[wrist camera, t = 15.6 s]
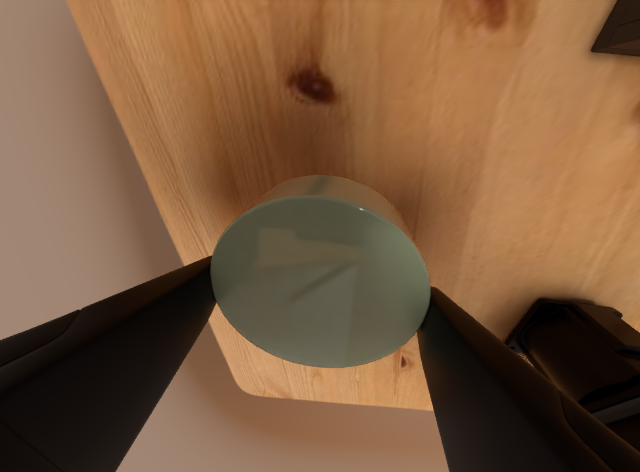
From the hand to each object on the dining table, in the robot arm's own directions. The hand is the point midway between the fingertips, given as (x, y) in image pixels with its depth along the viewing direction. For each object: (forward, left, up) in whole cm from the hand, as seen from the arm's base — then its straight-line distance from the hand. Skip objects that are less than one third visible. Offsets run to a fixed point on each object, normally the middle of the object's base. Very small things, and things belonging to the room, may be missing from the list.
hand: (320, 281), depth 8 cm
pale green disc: (0, 0, -1) cm, 1 cm away
